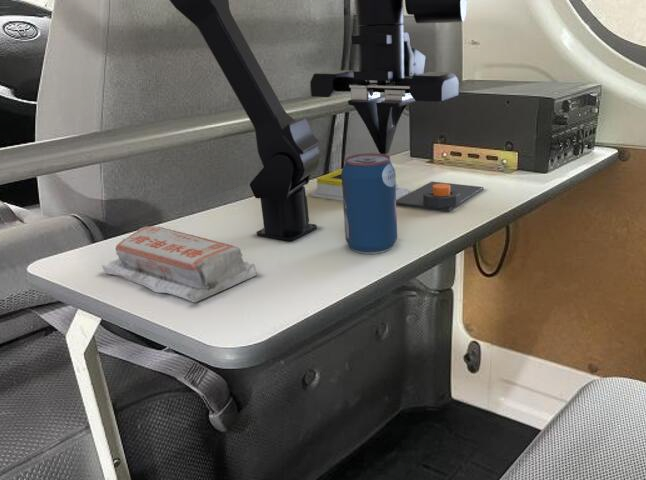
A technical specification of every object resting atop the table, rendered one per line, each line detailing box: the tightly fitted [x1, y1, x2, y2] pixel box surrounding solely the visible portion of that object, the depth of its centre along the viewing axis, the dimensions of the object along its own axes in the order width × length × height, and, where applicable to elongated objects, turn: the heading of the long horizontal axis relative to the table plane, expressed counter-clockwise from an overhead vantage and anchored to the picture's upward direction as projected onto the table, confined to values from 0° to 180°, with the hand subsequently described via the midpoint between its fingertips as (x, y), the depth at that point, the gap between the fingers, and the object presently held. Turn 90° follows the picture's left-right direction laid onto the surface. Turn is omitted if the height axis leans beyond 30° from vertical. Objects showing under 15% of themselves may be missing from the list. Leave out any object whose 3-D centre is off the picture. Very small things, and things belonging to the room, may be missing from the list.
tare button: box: [433, 184, 450, 196], centre depth 99 cm, size 3×3×2 cm
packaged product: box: [101, 225, 257, 303], centre depth 77 cm, size 18×5×10 cm
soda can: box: [341, 152, 398, 255], centre depth 82 cm, size 7×7×12 cm
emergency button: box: [310, 168, 409, 202], centre depth 108 cm, size 9×4×15 cm
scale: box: [396, 181, 485, 213], centre depth 104 cm, size 14×10×2 cm
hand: (384, 153), depth 83 cm, fingers closed
